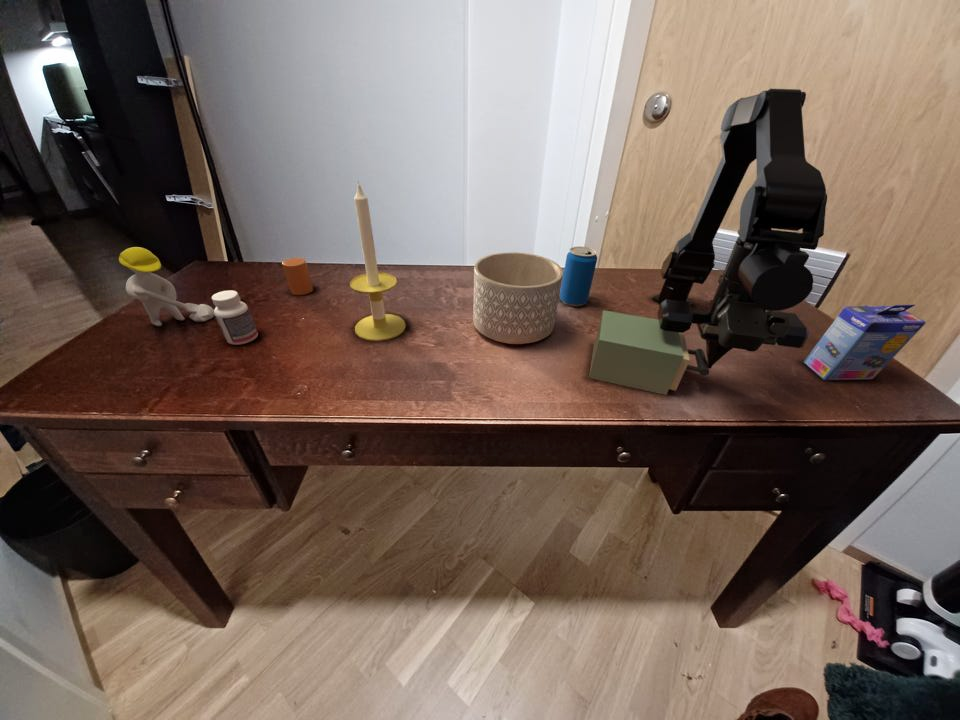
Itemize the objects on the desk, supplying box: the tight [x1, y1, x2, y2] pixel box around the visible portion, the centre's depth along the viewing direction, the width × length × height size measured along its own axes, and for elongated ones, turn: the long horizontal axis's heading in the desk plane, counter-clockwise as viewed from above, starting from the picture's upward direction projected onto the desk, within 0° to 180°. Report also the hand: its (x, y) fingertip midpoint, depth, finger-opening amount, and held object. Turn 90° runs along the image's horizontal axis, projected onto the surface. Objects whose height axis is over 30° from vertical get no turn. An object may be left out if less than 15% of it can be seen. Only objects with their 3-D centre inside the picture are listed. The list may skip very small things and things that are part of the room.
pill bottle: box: [211, 289, 259, 346], centre depth 66 cm, size 5×5×9 cm
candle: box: [349, 181, 407, 342], centre depth 65 cm, size 10×10×27 cm
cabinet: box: [588, 309, 684, 396], centre depth 62 cm, size 12×10×8 cm
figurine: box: [118, 246, 215, 327], centre depth 69 cm, size 10×9×15 cm
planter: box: [472, 251, 564, 345], centre depth 71 cm, size 16×16×13 cm
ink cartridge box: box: [803, 304, 927, 381], centre depth 62 cm, size 10×6×14 cm, turn 95°
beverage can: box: [559, 246, 598, 307], centre depth 82 cm, size 6×6×12 cm
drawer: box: [669, 332, 710, 391], centre depth 62 cm, size 15×9×6 cm, turn 71°
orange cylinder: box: [282, 257, 314, 296], centre depth 83 cm, size 5×5×7 cm
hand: (707, 367), depth 60 cm, fingers closed
